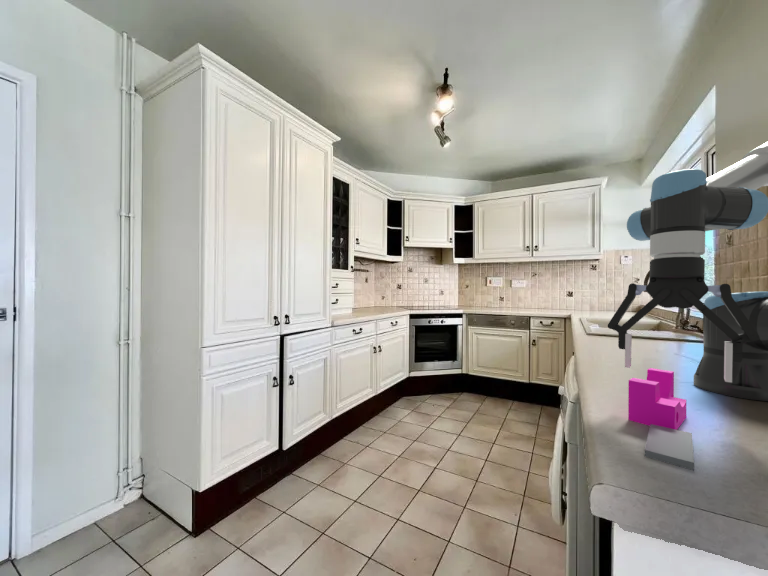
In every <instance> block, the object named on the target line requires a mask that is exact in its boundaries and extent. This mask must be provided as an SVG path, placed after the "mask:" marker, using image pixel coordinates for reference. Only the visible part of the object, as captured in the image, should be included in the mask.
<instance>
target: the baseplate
mask: <svg viewBox="0 0 768 576" xmlns="http://www.w3.org/2000/svg"><path fill="white" fill-rule="evenodd" d="M693 445H694V444H693V434H692V432H688V431H684V430H681V429H680V430H679V429H677V430H675V429H671V428H666V427H662V426H657V425H653V424H650V426H649V429H648V433H647V438H646V441H645V447H644V457H645V456H646V458H650V459H652V458H653V459H654V460H656V461H661V462H664V463H667V464H671V465H672V466H673V465H675V466H677V467H681V468H684V469H688V470H691V471H695V458H694V446H693ZM653 459H652V460H653Z"/></svg>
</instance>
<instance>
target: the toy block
mask: <svg viewBox="0 0 768 576" xmlns="http://www.w3.org/2000/svg"><path fill="white" fill-rule="evenodd" d="M674 373H675V371H672V370H665V369H659V368H652V367H650V368H647V371H646V379H643V378H638V377H637V378H636V377H632V378H629V379H628V400H627V401H628V403H627V405H628V408H627V409H628V414H627V415H628V418H627V419H628V421H631V422H635V423H637V424H638V423H639V424H642V425H646V426H648V427H650V424H653V425H657V426H662V427H666V428H671V429H675V430H679V428H680V426H681V425H682V424H683V422H684V421H685V420H686V419H687V399H685V398H680V397H675V396H674V395H675V389H674V388H675V374H674Z"/></svg>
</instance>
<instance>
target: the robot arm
mask: <svg viewBox="0 0 768 576" xmlns="http://www.w3.org/2000/svg"><path fill="white" fill-rule="evenodd" d="M762 187H768V141H766V142H765V143H764V142H763V144H761V145H759V146H757V147H756V148H754V149H751V150H750V151H748V152H747V153H745V155H744V156H743V157H742V158H741V160H740V161H737V162H736V163H734V164H732V165H729V166H728V167H726V168H723V170H720V171H718V172H717V173H715V174H713V175H711V176H708V177H707V173H706V172H705V171H703V169H700V168H686V169H679V170H674V171H671V172H667V173H665V174H662V175H659V176H658V177H656V178H655V179H654V180H653V181H652V185H651V192H650V193H651V194H650V199H649V202H650V206H649V207H643V208H642V209H640V210H636V211H634V212H633V213H631V214H630V215H629V216H628V219H627V222H626V230H627V232H628V234H629V236H630V237H631V238H632V239H634V240H636V241H640V242H642V241H643V242H644V241H649V256H650V257H652V258H653V259H652V258H651V260H650V261H649V279H648V280H649V281H648V284H647V285H646V284H637V283H634V282H633V283H630V284H629V285H628V288H627V289H628V290H627V294H626V296H625V297H624V298H623V300H622V302H621V303H620V305H619V307H618V308H617V310H616V311H615V313H614V315H613V316H612V317H611V319H610V321H609V322H608V323H607V327H608V329H609V330H613V331H615V332H617V334H618V343H617V346H618V348H619V350H624V368H629V369H630V368H631V367H632V341H633V340H632V339H633V338H632V336H633V334H632V333H631V332H628V331H629V330H630V329H631V328H632V327H634V326H635V325H636V324H637V323H638V322H639V321H641V320H642V319H644V317H646V315H648V314H649V313H650V312H651V311H653V309H655V308H656V307H657V306H659V307H662V308H665V309H671V308H678V309H684V310H685V309H690V308H692V307H694V308H696V309H697V310H698V312H700V313H701V314H702V323H703V324H702V325H703V326H702V328H703V329H702V330H703V331H702V332H703V340H702V341H703V354H702V357H701V359H700V361H699V364H698V366H697V368H696V370H695V373H694V374H693V385H694V386H695V385H696V386H695V387H697V386H698V387H697V388H699V389H701V388H702V390H704V391H707V392H712V393H716V394H719V395H723V396H728V397H733V398H740V399H745V400H746V399H747V400H752V401H753V400H754V401H762V402H768V291H746V292H732V289H731V285H730V284H729V283H722V284H717V285H716V284H715V285H707V284H706V281H705V267H706V266H705V265H706V263H705V262H706V260H705V259H704V258H703V257H701V256H702V255H704V254H705V253H706V232H711V231H717V230H729V231H734V230H745V229H750V228H752V227H754V226H756V225H758V224H759V223H761V222H762V221H763V220H764V218H765V217H766V216H767V215H768V196H767V194H766V193H764V192H763V191H760V190H758V189H760V188H762ZM644 291H646V293H647V294H649V296H650V297H651V300H650V301H649V302H648V303H646V304H645V305H644V306H643V307H642V308H640V309H639V310H638V311H637V312H635V314H634V315H632V316H631V317H630V318H629V319H628V320H626V321H625V322H624V323H623V324H620V322H621V320H622V318H623V317H624V315H625V314H626V312H628V309H629V308H630V306H631V305H632V303H633V302H634V301H635V299H636V297H637V296H641V294H642V293H643V292H644ZM708 292H710V293H712V295H710V296H707V297H706V298H705V300H704V302H703V301H701V299H702V298H703V297H705V295H707V293H708Z"/></svg>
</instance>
